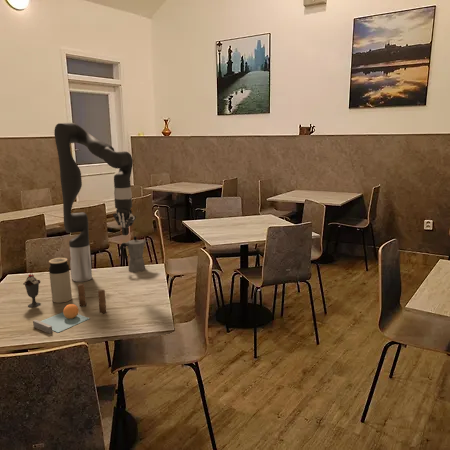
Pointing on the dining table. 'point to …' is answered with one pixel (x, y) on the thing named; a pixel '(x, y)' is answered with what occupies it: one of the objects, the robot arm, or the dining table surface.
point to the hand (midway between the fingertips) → (125, 235)
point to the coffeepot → (135, 254)
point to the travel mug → (60, 280)
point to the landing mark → (63, 322)
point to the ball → (70, 311)
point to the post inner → (81, 295)
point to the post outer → (102, 301)
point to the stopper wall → (42, 326)
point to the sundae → (32, 289)
